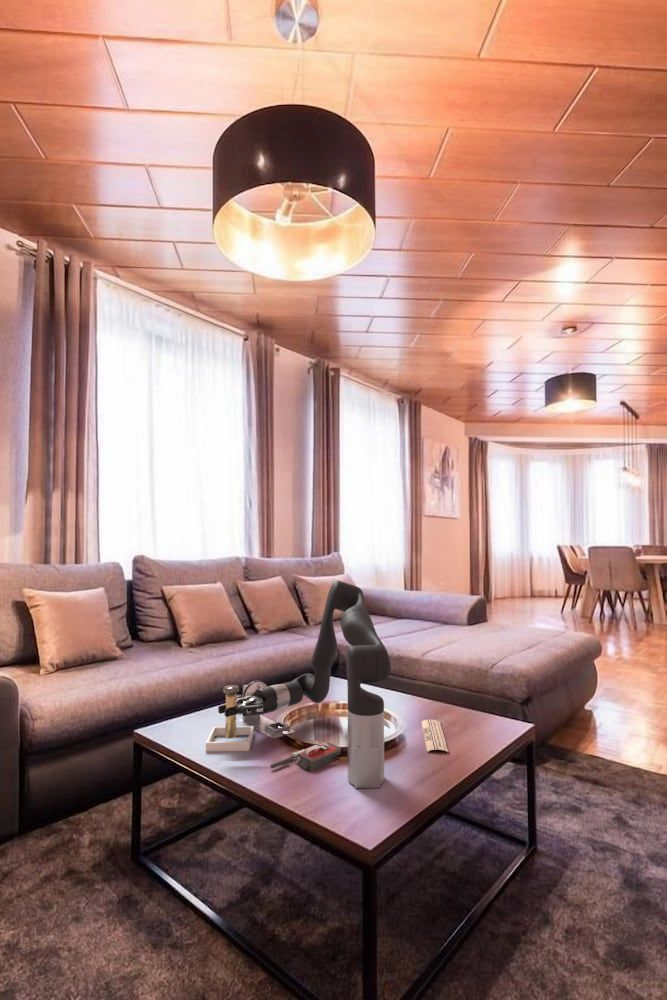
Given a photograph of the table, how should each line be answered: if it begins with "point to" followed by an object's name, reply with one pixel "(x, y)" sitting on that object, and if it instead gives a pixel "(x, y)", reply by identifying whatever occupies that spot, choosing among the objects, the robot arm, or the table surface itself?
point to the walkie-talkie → (313, 756)
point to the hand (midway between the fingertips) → (222, 711)
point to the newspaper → (434, 735)
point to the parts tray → (230, 745)
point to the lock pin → (230, 702)
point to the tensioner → (259, 720)
